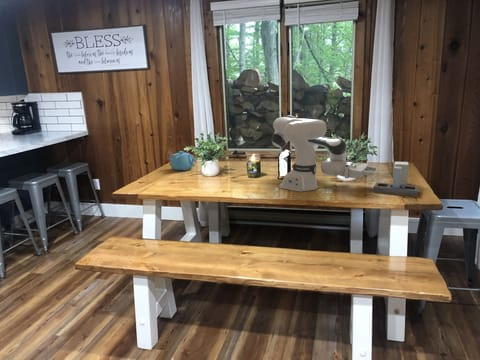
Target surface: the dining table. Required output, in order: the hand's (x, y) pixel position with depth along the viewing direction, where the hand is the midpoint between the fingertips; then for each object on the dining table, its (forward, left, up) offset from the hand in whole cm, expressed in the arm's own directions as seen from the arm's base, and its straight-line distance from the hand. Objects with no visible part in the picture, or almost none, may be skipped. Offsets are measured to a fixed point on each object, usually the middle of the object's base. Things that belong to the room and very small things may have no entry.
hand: (374, 171), depth 214 cm
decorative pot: (-134, +1, -11) cm, 135 cm away
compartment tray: (+12, 0, -10) cm, 16 cm away
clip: (+12, 0, -10) cm, 15 cm away
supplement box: (+12, +16, -11) cm, 22 cm away
